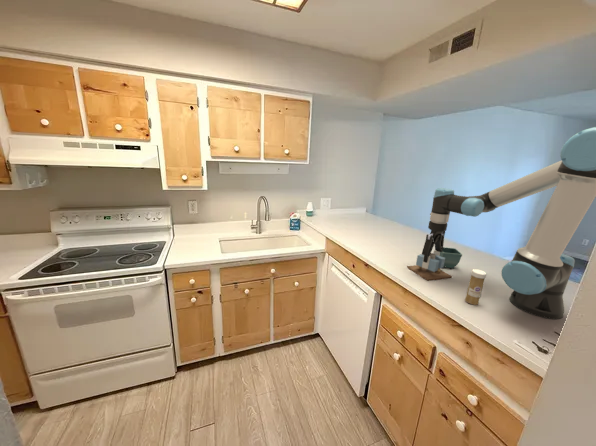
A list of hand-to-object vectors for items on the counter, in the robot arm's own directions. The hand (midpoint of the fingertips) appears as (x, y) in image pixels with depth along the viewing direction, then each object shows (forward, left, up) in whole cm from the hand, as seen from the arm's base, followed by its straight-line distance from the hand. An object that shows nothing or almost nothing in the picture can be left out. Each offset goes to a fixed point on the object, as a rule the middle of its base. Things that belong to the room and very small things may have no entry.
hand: (429, 265), depth 119 cm
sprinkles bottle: (-25, +2, -4) cm, 26 cm away
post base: (0, 0, -4) cm, 4 cm away
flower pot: (+5, -16, -4) cm, 17 cm away
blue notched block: (0, 0, 0) cm, 0 cm away
